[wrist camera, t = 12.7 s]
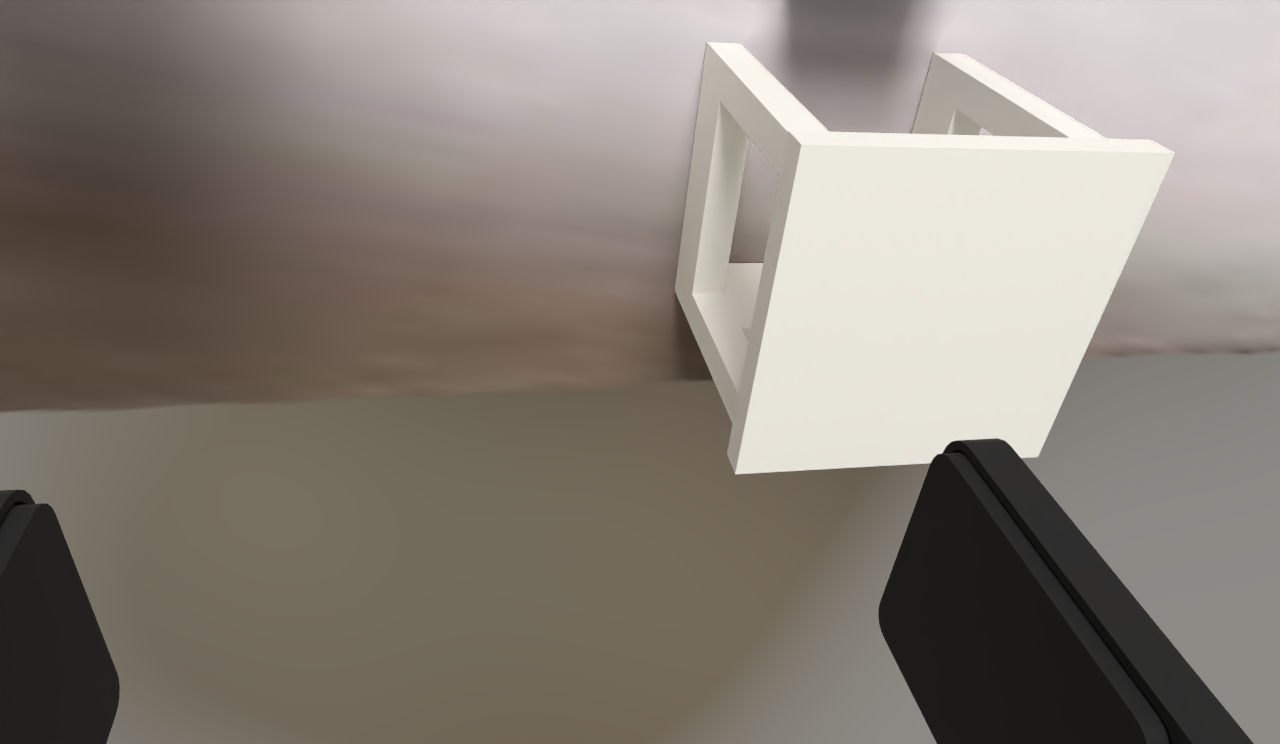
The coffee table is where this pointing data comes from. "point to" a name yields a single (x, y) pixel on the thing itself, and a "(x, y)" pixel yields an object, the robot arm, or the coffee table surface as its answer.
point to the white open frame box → (902, 266)
